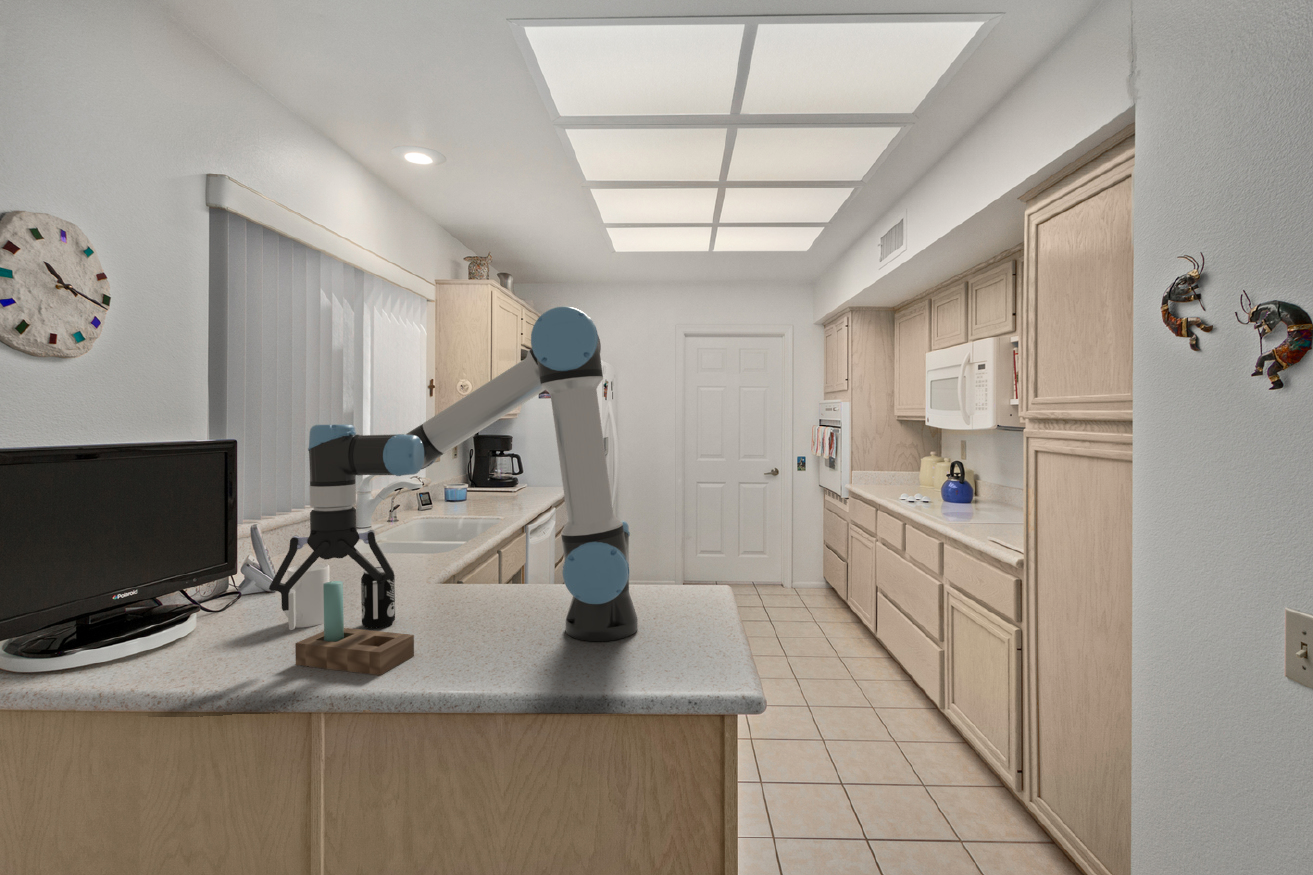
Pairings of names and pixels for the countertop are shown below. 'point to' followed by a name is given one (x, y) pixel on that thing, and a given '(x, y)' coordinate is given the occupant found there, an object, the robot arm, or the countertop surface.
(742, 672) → the countertop surface
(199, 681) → the countertop surface
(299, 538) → the robot arm
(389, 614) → the beverage can
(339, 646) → the hole block
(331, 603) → the peg
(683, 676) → the countertop surface
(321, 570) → the mug
